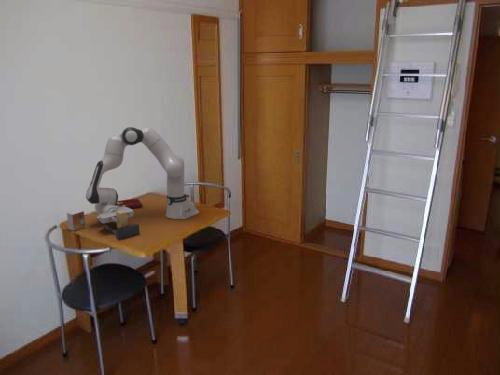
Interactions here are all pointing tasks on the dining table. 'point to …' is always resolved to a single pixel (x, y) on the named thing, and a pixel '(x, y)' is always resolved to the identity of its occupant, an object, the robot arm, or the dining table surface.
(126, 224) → the tall tan pillar block
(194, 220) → the dining table surface
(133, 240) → the dining table surface
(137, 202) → the hardcover book
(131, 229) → the pallet fork attachment
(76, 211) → the small box
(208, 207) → the dining table surface
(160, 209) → the dining table surface
